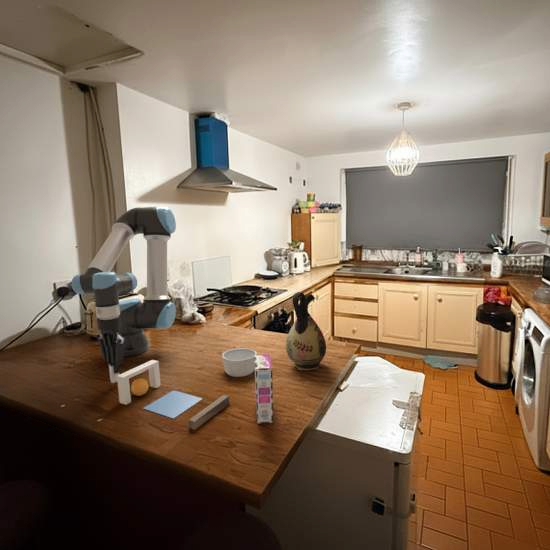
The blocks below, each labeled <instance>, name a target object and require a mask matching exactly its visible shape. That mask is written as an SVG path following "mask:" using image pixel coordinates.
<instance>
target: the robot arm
mask: <svg viewBox="0 0 550 550" xmlns="http://www.w3.org/2000/svg"><path fill="white" fill-rule="evenodd" d="M176 222H177V221H176V219H175V215H174V214H173V211H172V210H171V209H170V208H169V207H168V206H149V207H148V206H144V207H133V208H131V209H128V210H127V211H125V212H124V213H122V214H121V215H120V216H119V217H118V218H117V219H116V220H115V222H114V223H113V224H112V226H111V232H110V233H109V235H108V237H107V238H106V240H104V243H103V244H102V245H101V247H100V249H99V251H98V252H97V254H96V255H94V258H93V259H92V261H91V262H90V263H89V265H88V267H87V269H86V270H85V272H84V273H79V274H76V275H74V276H73V277H72V280H71V289H72V290H73V292H74V293H75V294H79V295H93V296H94V307H95V316H96V318H97V319H96V324H97V325H96V327H97V329H98V331H100V333H99V334H96V335H95V336H96V339H97V341H98V346H99V348H100V352H101V357H102V360H103V362H104V363H105V362H106V363H107V365H108V372H109V380H110V383H112V384H115V383H118V382H117V376H118V375H120V371H121V370H120V364H122V363H123V362H124V357H130V356H136V355H140V354H143V353H145V352H147V351H148V350H149V349H150V344H149V341H148V338H147V336H146V334H145V333H144V332H145V331H144V330H145V329H146V330H167V329H169V328H170V327H172V325H173V324H174V322H175V320H176V319H175V318H176V315H177V314H176V313H177V308H176V307H177V306H176V305H175V303H174V302H172V301H171V299H172V298H171V297H170V296H169V295H168V241H169V240H171V238H172V237H171V236H172V235H171V234H174V233H175V231H176V229H177V223H176ZM139 234H140V235H143V238H144V239H145V240H146V296H145V297H143V298H142V299H143V300H141V298H131V299H127V300H122V301H119V300H120V298H119V297H120V296H123V295H126V294H129V293H131V292H133V291H135V289H136V288H137V286H138V279H137V277H136V275H134V274H133V273H132V272H121V273H116V271H112V270H113V268H114V266H115V264H116V262H117V261H118V259H119V257H120V256H121V254H122V252H123V250H124V249H125V247H126V246H127V244H128V242H129V241H131V240H133V239H134V237H135V236H137V235H139ZM142 301H143V302H142Z"/></svg>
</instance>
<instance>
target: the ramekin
mask: <svg viewBox="0 0 550 550" xmlns="http://www.w3.org/2000/svg"><path fill="white" fill-rule="evenodd" d="M255 355H258V352H257V351H256V350H254V349H251V348H246V347H244V348H243V347H242V348H241V347H237V348H233V349H227V350H226V351H224V352H223V353H222V354H221V356H222V357H221V359H222V362H223V368H224V371H225V374H227V375H228V376H230V377H236V378H239V377H240V378H241V377H246V376H249V375H251V374H253V373H254V372H255Z"/></svg>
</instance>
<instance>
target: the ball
mask: <svg viewBox="0 0 550 550" xmlns="http://www.w3.org/2000/svg"><path fill="white" fill-rule="evenodd" d="M149 387H150V384H149V382H148V381H147V380H146V379H145V378H137V379H135V380H134V381H133V382H132V383H131V386H130V391H131V393H132V394H134V395H135V396H144V395H145V394H146V393H147V392H148V390H149Z"/></svg>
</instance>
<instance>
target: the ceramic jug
mask: <svg viewBox="0 0 550 550" xmlns="http://www.w3.org/2000/svg"><path fill="white" fill-rule="evenodd" d="M314 300H315V295H313V294H311V293H308V294H304V293H303V292H300V291H298V292H295V293H294V294H293V295H292V305H293V310H294V312H295V317H296V318H295V319H296V320H295V321H294V323H293V324H292V326H291V328H290V330H289V331H288V334H287V337H286V342H285V343H286V345H285V349H286V353H287V356H288V357H289V359H290V360H291V362H292V363H294V366H295V367H296V369H297V370H299V371H314V370H317V369H319V368H320V367H321V365H320V363H321V362H322V360H324V358H325V356H326V352H327V343H326V338H325V336H324V334H323V331H322V329H321V328H320V326H319V325H318V323H317V322H316V321H315V320H314V318H313V317H312V316H311V314H310V313H309V310H308V309H309V305H310V304H311V303H312V302H313V301H314Z"/></svg>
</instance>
